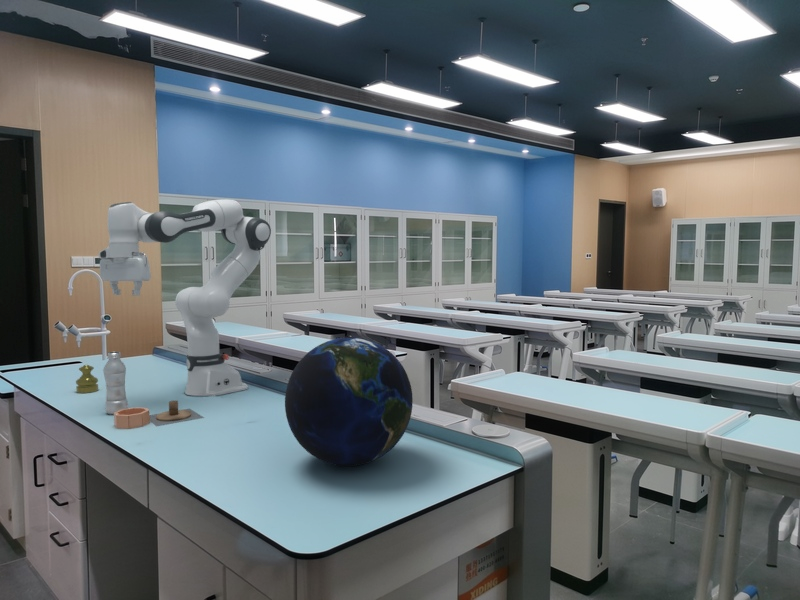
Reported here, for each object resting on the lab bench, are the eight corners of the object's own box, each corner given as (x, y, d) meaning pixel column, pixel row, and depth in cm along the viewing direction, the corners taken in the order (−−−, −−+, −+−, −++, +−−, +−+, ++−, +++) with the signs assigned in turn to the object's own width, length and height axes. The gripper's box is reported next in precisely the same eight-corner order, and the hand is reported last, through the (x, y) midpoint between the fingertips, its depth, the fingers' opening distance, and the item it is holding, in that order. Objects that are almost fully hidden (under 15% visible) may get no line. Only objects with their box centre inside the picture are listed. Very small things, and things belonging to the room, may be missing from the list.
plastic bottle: (133, 412, 185) (130, 351, 183) (114, 418, 179) (111, 354, 177) (119, 410, 187) (116, 350, 186) (100, 415, 181) (97, 353, 180)
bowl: (144, 420, 176) (143, 405, 176) (152, 426, 169) (151, 411, 169) (112, 425, 170) (111, 411, 170) (119, 432, 163) (118, 417, 163)
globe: (304, 496, 118) (300, 351, 115) (275, 452, 145) (271, 334, 143) (435, 473, 129) (433, 341, 127) (385, 436, 157) (383, 327, 155)
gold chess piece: (86, 394, 212) (84, 367, 211) (71, 392, 215) (70, 366, 214) (103, 389, 219) (101, 364, 218) (88, 388, 221) (87, 362, 221)
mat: (189, 410, 187) (189, 408, 187) (204, 419, 176) (204, 417, 176) (144, 418, 178) (144, 416, 178) (156, 428, 167) (156, 426, 167)
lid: (185, 410, 184) (184, 396, 184) (195, 417, 176) (195, 401, 176) (152, 416, 178) (151, 401, 178) (161, 423, 170) (160, 407, 170)
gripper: (154, 251, 183) (156, 295, 184) (112, 253, 193) (114, 294, 194) (137, 251, 178) (139, 296, 179) (95, 253, 187) (97, 295, 188)
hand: (126, 295), depth 186 cm, fingers open, 8 cm apart
